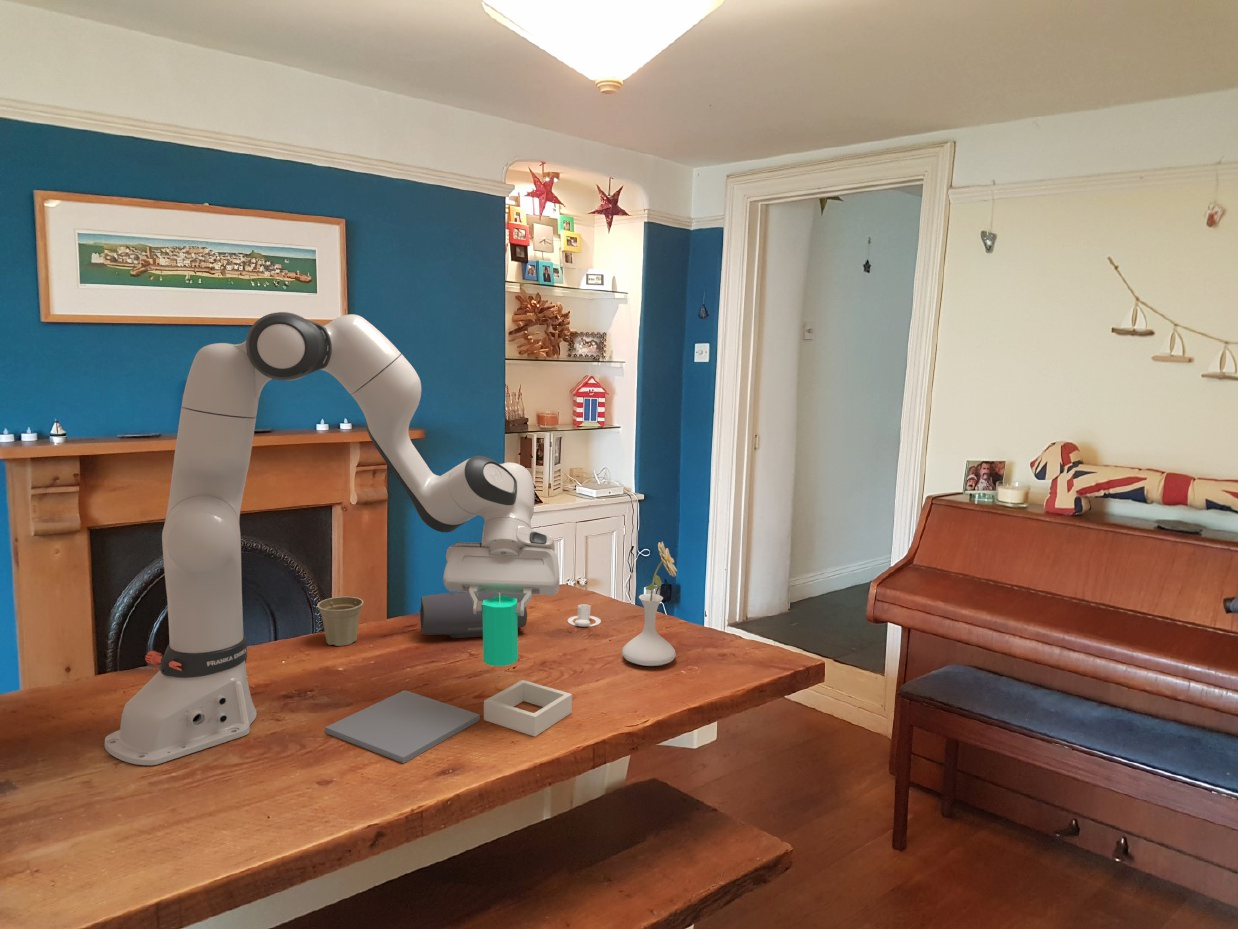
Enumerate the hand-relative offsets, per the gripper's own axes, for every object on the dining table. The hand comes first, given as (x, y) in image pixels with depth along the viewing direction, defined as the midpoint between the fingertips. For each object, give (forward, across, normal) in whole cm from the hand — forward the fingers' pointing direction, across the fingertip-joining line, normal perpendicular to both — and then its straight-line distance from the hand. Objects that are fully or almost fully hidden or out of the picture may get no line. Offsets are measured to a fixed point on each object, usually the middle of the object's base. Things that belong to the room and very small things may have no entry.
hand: (498, 613), depth 139 cm
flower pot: (-12, -37, +40) cm, 56 cm away
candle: (+6, +1, +7) cm, 9 cm away
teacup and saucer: (-23, +12, +50) cm, 57 cm away
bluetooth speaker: (-16, -10, +44) cm, 48 cm away
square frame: (+12, +6, +15) cm, 20 cm away
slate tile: (+16, -15, +12) cm, 25 cm away
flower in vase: (-8, +29, +34) cm, 46 cm away
